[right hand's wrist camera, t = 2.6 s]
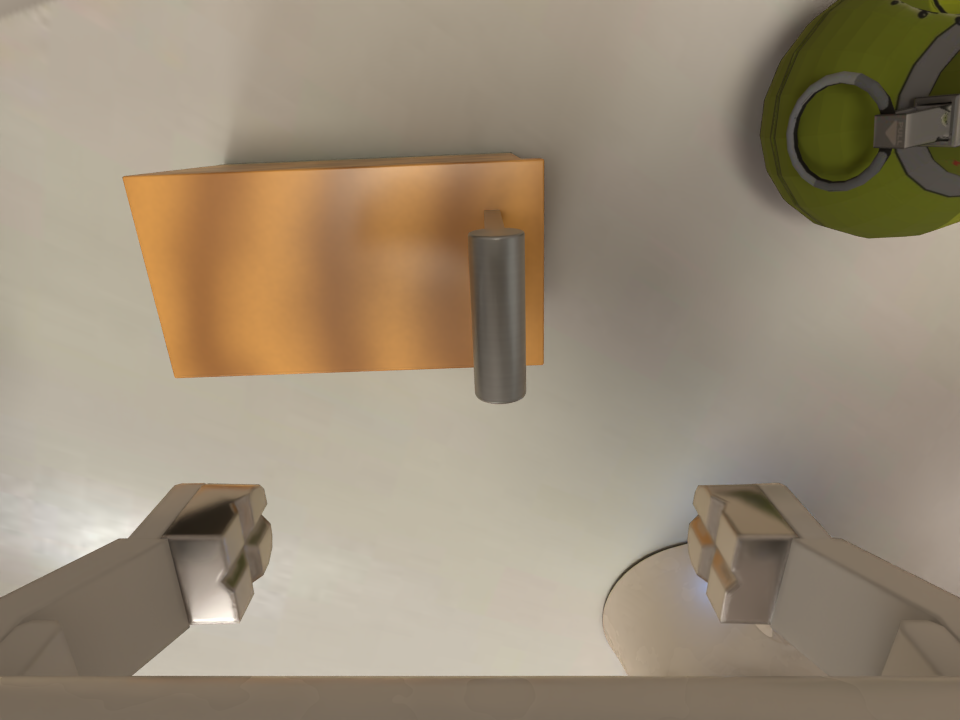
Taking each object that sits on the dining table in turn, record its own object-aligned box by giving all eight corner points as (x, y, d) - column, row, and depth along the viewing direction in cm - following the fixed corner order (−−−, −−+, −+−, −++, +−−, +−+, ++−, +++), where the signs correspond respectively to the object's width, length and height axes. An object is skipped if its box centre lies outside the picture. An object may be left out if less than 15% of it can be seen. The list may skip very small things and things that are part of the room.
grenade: (945, -32, 30) (1357, -180, 16) (927, 197, 34) (1237, 241, 20) (712, 23, 31) (906, -71, 17) (723, 239, 35) (884, 309, 21)
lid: (542, 157, 25) (572, 169, 16) (541, 357, 28) (566, 449, 20) (135, 174, 25) (-36, 194, 17) (184, 370, 28) (64, 466, 20)
